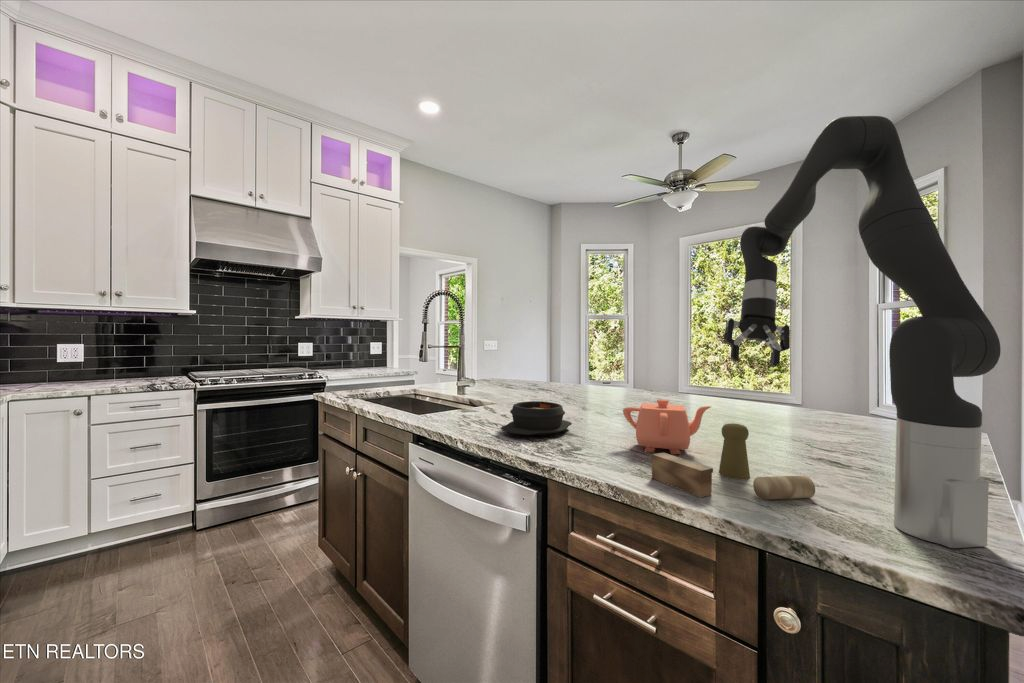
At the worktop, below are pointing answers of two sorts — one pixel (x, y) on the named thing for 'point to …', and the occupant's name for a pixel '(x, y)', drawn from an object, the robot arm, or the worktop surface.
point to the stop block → (682, 474)
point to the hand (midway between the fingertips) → (754, 364)
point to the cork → (734, 452)
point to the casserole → (536, 418)
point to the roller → (783, 487)
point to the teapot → (664, 425)
